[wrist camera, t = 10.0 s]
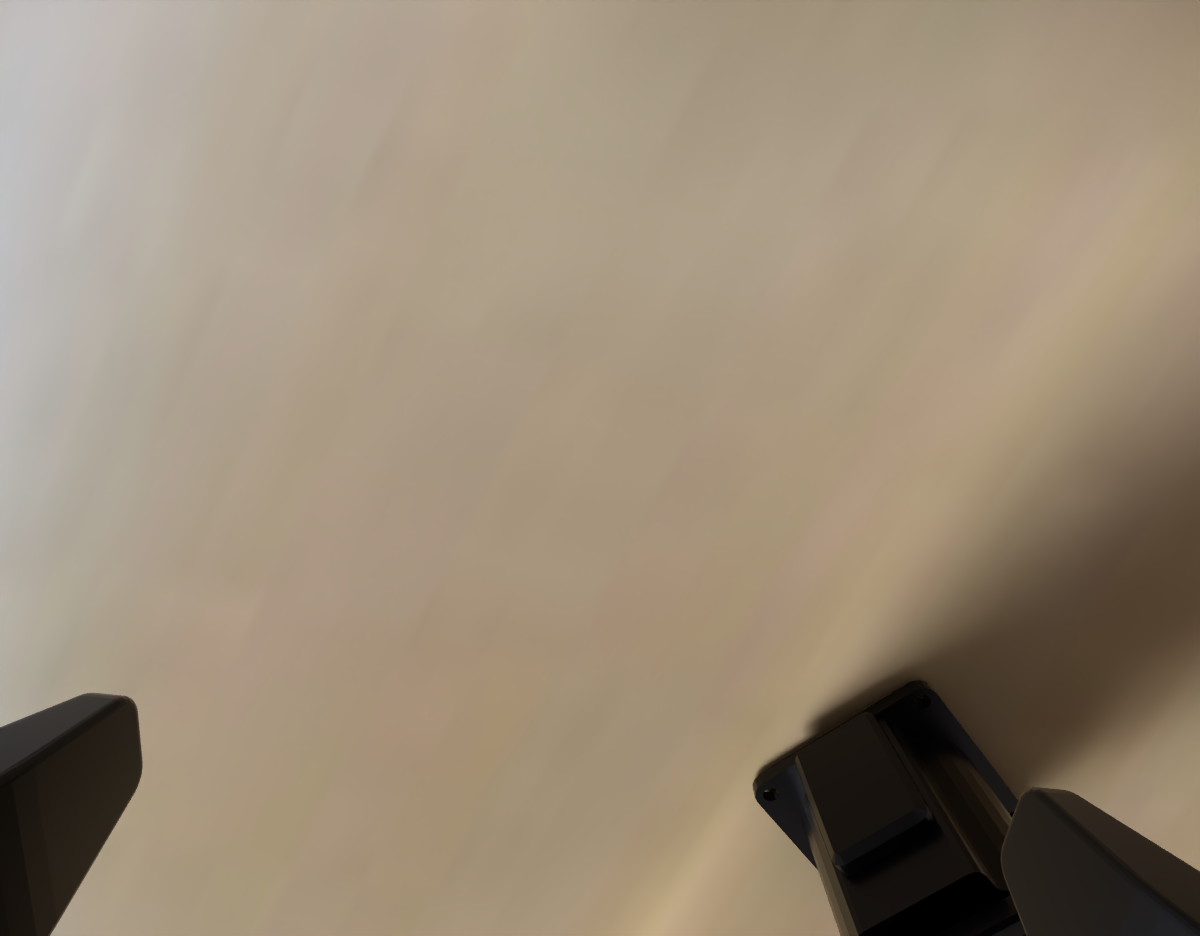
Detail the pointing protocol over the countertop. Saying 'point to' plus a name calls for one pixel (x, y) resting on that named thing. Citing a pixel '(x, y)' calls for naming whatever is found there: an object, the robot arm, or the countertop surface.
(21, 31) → the countertop surface
